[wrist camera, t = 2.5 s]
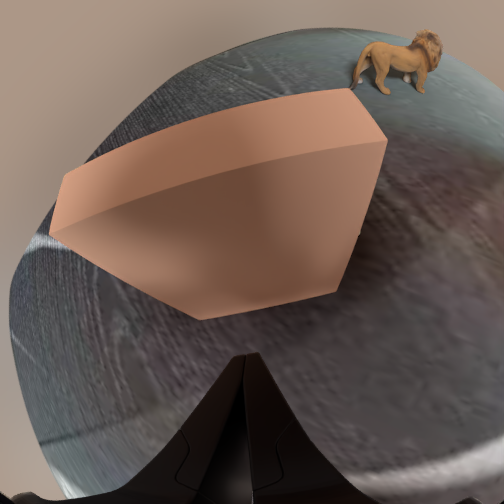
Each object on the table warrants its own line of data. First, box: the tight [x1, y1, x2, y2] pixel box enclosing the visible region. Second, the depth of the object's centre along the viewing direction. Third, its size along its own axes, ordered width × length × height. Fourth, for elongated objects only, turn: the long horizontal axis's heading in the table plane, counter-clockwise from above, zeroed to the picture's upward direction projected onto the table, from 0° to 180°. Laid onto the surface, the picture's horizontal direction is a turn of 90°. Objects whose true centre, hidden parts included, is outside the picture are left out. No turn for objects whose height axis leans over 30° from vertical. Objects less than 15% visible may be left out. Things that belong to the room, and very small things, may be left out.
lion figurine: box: [350, 30, 443, 95], centre depth 22 cm, size 15×5×9 cm, turn 109°
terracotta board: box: [49, 88, 388, 320], centre depth 13 cm, size 2×10×14 cm, turn 99°
